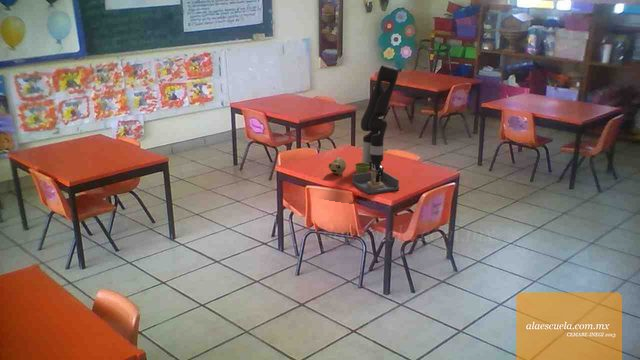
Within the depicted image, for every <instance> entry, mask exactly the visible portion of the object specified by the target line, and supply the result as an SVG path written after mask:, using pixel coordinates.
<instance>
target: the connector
mask: <svg viewBox="0 0 640 360" xmlns="http://www.w3.org/2000/svg"><path fill="white" fill-rule="evenodd" d="M377 171H378V170H377ZM377 174H378V172H377ZM380 174H381V173H380ZM380 180H381V176H380ZM371 184H373V185H378V184H380V181H379V182H376V172H375V169H373V170H371Z"/></svg>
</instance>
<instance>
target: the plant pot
mask: <svg viewBox="0 0 640 360" xmlns="http://www.w3.org/2000/svg"><path fill="white" fill-rule="evenodd" d="M354 166H355V169H356V174H360V173H367V172H370V169H369V167H370V166H369V164H368V163H362V162H357V163H355V164H354Z"/></svg>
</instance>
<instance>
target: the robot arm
mask: <svg viewBox="0 0 640 360" xmlns="http://www.w3.org/2000/svg"><path fill="white" fill-rule="evenodd" d="M398 76H399V69H398V68H397V67H394V66H391V65H387V64H381V66H380V68H379V70H378V74H377V77H376V81H375V85H374V87H373V90H372V93H371V95H370V98H369V102H368V104H367V107H366V109H365V111H364V114H363V116H362V118H361V121H360V128H361V130H362V131H364V132H369V133H367V134H365V135H364V136H363V138H362V154H361V155H362V156H361V157H362V159H361V160H362V161H361V163H368V164H369V166H370V167H369V172H371V170H373V169H375V172H376V182H379V181H380V176H382V174H383V171H384V166H382V163H381V162H383V161H384V139H385V138H384V137H385V133H386V130H387V127H388V121H387V120H386V119H384V118H381V117H385V116H386V115H388V114H387V113H388V109H389V104H390V102H391V101H390V100H391V98H392V95H393V93H394V89H395V86H396V84H397V79H398ZM383 82H385V83H389V85H388V87H387V89H386V90H385V88H384V86H383ZM377 170H378V171H377ZM377 172H378V174H377ZM380 173H381V174H380Z"/></svg>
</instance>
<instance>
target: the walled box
mask: <svg viewBox="0 0 640 360" xmlns="http://www.w3.org/2000/svg"><path fill="white" fill-rule="evenodd" d="M399 180H400V179H398V178H396V177H394V176H393V175H391V174H389V173H388V172H386V171H384V170H383V174H382V176H381V180H380V184H378V185H373V184H371V172H370V171H368V172H367V173H360V174H357V173H353V174H352V185H353V186H355V187H356V188H358V189H359V190H361V191H362V192H364V193H365V194H367V195H368V196H369V195H377V194H383V193H389V192H390V191H391V192H396V191H400V186H399V184H400V183H399V182H400V181H399Z"/></svg>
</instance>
